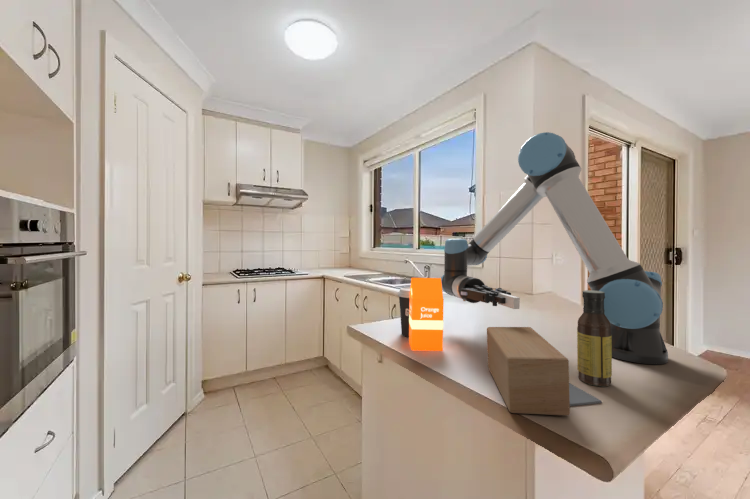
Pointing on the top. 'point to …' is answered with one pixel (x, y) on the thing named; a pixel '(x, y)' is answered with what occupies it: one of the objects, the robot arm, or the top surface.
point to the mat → (580, 397)
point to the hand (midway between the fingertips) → (516, 303)
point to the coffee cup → (404, 310)
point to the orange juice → (426, 314)
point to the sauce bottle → (594, 341)
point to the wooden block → (528, 371)
